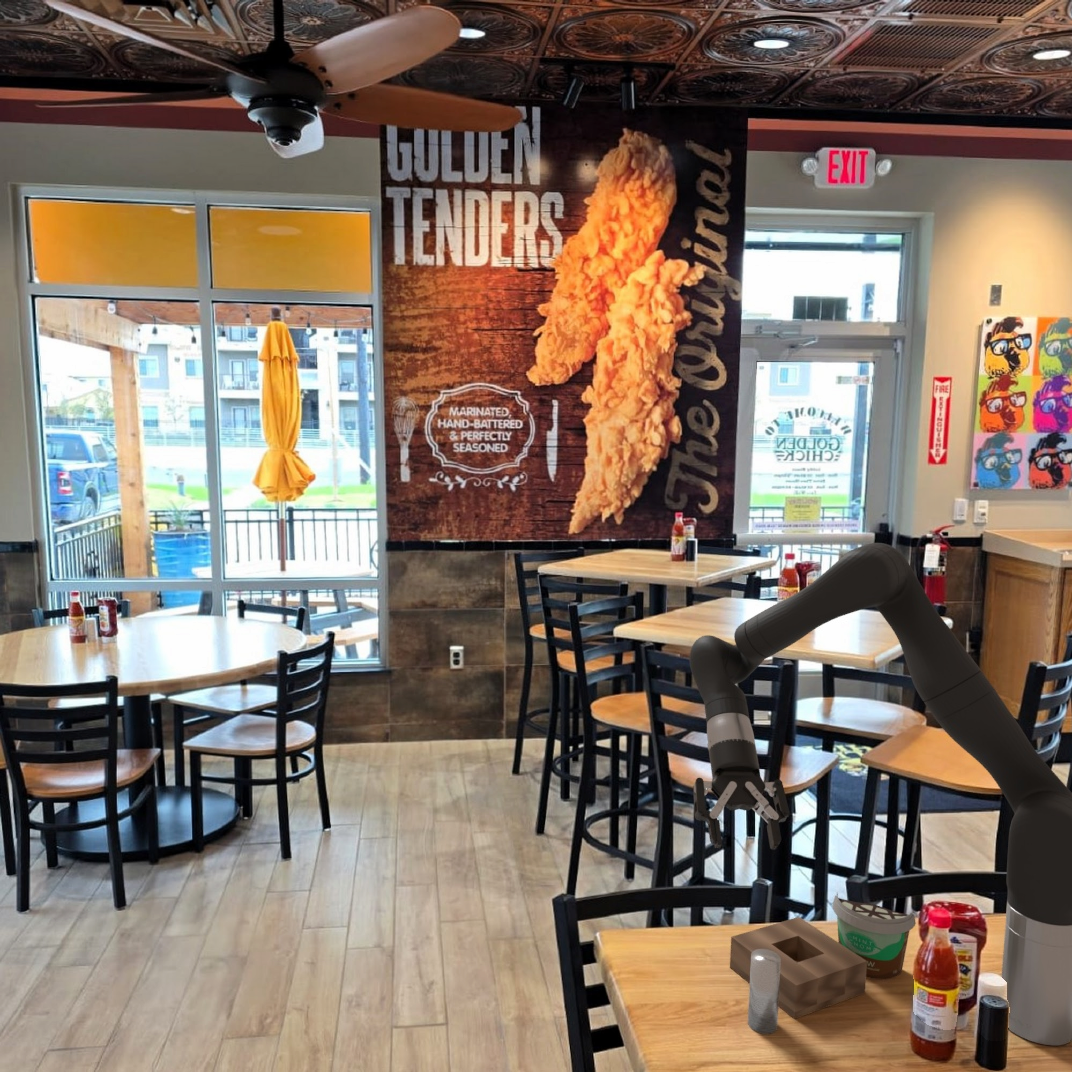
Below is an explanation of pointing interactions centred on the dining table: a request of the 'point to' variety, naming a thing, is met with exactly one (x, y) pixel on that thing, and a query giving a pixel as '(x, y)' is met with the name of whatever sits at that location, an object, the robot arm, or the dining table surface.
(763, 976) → the steel pin
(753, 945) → the socket block
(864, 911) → the food container
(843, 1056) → the dining table surface
